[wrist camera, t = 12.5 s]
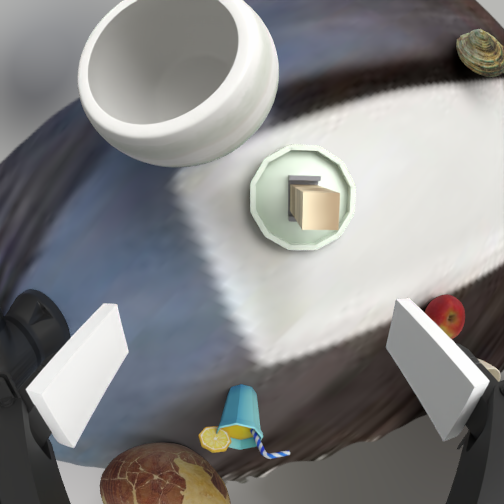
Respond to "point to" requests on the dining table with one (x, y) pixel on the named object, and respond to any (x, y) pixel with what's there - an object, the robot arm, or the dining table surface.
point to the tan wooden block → (315, 207)
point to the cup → (237, 425)
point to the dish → (278, 194)
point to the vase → (161, 477)
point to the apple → (447, 314)
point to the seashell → (481, 53)
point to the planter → (178, 79)
